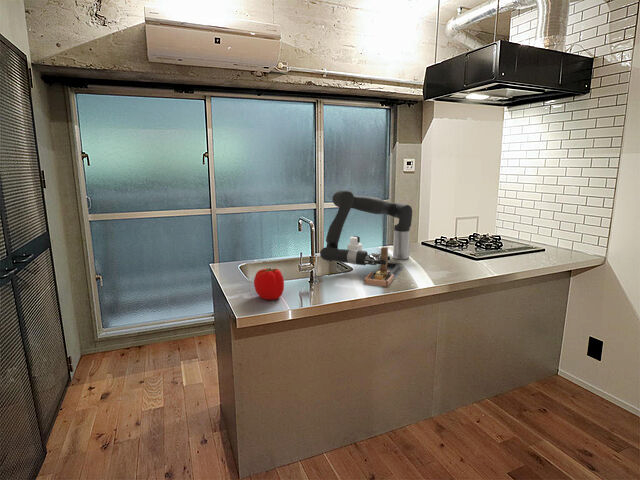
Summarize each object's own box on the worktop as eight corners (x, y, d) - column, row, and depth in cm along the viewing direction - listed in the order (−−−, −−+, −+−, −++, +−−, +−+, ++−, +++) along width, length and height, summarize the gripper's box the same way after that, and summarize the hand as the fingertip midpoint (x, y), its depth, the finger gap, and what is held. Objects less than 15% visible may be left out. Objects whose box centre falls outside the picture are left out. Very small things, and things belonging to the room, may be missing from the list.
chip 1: (376, 280, 193) (376, 272, 192) (384, 281, 191) (384, 273, 191) (374, 283, 189) (374, 275, 188) (382, 284, 188) (382, 276, 187)
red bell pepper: (275, 305, 162) (275, 274, 159) (247, 301, 167) (246, 270, 164) (292, 293, 176) (291, 264, 173) (265, 289, 181) (264, 261, 178)
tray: (371, 277, 198) (371, 271, 198) (393, 280, 194) (393, 274, 193) (364, 285, 187) (364, 278, 186) (387, 288, 183) (387, 281, 182)
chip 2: (378, 278, 197) (378, 270, 196) (385, 279, 195) (386, 271, 194) (376, 280, 193) (376, 272, 192) (383, 281, 191) (384, 273, 191)
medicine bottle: (352, 253, 249) (352, 234, 246) (362, 254, 245) (362, 236, 243) (347, 255, 243) (347, 236, 240) (357, 257, 239) (357, 238, 237)
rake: (380, 273, 203) (381, 245, 200) (389, 274, 201) (391, 246, 198) (377, 277, 197) (378, 248, 193) (386, 278, 195) (387, 249, 192)
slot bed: (380, 266, 219) (380, 261, 218) (403, 269, 214) (403, 264, 213) (369, 277, 199) (370, 272, 198) (394, 280, 194) (395, 275, 193)
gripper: (353, 253, 195) (384, 256, 189) (361, 247, 208) (391, 250, 202) (353, 267, 197) (384, 271, 191) (361, 260, 210) (390, 264, 203)
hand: (387, 260), depth 196 cm, fingers open, 8 cm apart
